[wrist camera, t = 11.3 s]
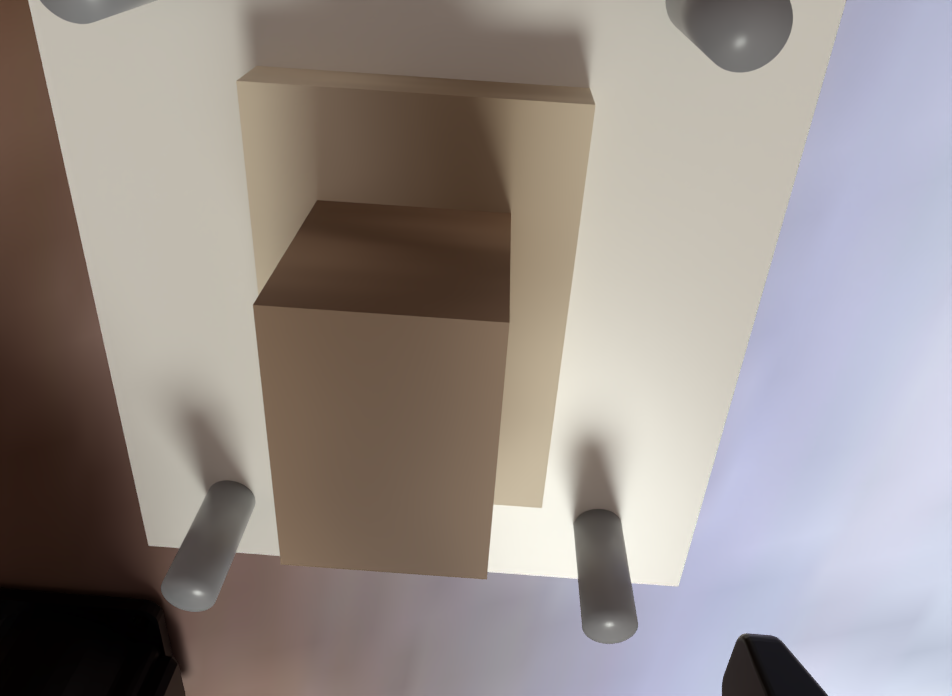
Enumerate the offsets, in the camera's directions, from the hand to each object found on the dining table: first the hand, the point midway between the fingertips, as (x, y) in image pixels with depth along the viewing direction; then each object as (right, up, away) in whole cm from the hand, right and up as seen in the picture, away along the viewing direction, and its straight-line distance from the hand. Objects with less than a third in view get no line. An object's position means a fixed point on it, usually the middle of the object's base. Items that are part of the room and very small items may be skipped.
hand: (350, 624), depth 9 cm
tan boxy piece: (0, +4, +7) cm, 8 cm away
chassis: (0, +5, +8) cm, 10 cm away
